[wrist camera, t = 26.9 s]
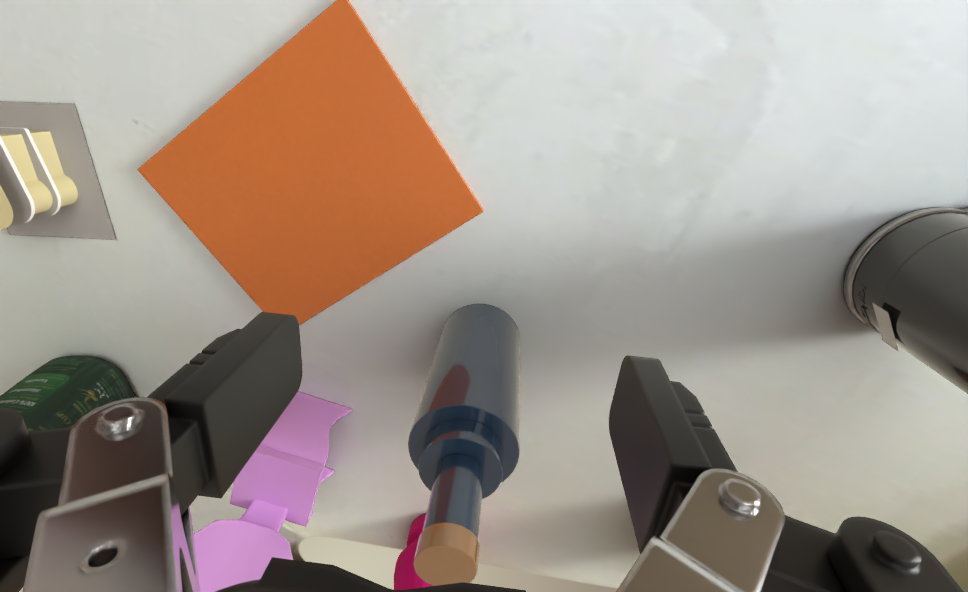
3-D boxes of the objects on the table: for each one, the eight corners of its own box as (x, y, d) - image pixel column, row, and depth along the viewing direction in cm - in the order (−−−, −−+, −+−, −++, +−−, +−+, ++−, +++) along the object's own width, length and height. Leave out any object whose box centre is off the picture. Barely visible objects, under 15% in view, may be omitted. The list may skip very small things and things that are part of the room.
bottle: (492, 289, 37) (465, 494, 19) (534, 350, 39) (546, 589, 21) (426, 326, 39) (342, 546, 20) (469, 383, 41) (427, 629, 22)
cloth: (345, -5, 30) (343, -6, 29) (483, 210, 35) (483, 211, 34) (140, 168, 35) (137, 169, 35) (284, 332, 40) (283, 334, 40)
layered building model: (-44, 99, 34) (-142, 102, 29) (74, 103, 33) (-4, 107, 28) (9, 234, 38) (-68, 257, 33) (116, 239, 38) (54, 263, 33)
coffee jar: (40, 351, 43) (-273, 527, 26) (123, 351, 42) (-144, 532, 25) (82, 435, 47) (-166, 637, 30) (158, 437, 46) (-52, 643, 29)
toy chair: (364, 408, 43) (291, 561, 29) (343, 475, 46) (270, 640, 33) (274, 379, 42) (156, 521, 28) (260, 450, 46) (150, 606, 32)
